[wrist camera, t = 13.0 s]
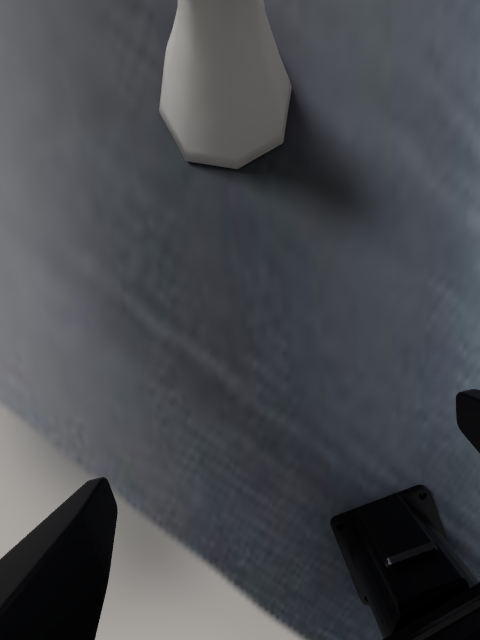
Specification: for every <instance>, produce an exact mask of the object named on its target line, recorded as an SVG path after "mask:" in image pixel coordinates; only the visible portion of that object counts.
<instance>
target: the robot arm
mask: <svg viewBox="0 0 480 640" xmlns="http://www.w3.org/2000/svg"><path fill="white" fill-rule="evenodd" d="M456 416H457V424H458V427H459V428H460V430H461V432H462V433H463V434H464V435H465V436H466V438H467V439H468V440H469V441H470V442H471V444H472V445H473V446H474V447H475V448H476V450H477V451H478V452H479V453H480V390H477V389H471V390H467V391H463V392H459V393H458V394H457V396H456ZM420 493H423V494H422V495H421V496H419V494H420ZM116 520H117V504H116V501H115V498H114V495H113V493H112V490H111V487H110V484H109V482H108V480H107V479H106V478H104V477H101V478H97V479H93V480H89V481H87V482H86V483H85V484H84V485H83V486H82V487H80V488H79V489H78V490H77V491H76V492H75V493H74V494H73V495H72V496H70V497H69V498H68V499H67V500H66V501H65V502H64V503H63V504H61V505H60V506H59V507H58V508H57V509H56V510H55V511H54V512H53V513H51V514H50V515H49V516H48V517H47V518H46V519H45V520H44V521H43V522H41V523H40V524H39V525H38V526H37V527H36V528H35V529H34V530H32V531H31V532H30V533H29V534H28V535H27V536H26V537H25V538H23V539H22V540H21V541H20V542H19V543H18V544H17V545H16V546H15V547H13V548H12V549H11V550H10V551H9V552H8V553H7V554H6V555H5V556H3V558H1V559H0V640H95V636H96V632H97V628H98V623H99V619H100V615H101V610H102V606H103V602H104V598H105V593H106V589H107V584H108V578H109V572H110V566H111V558H112V551H113V543H114V535H115V528H116ZM330 523H331V527H332V530H333V532H334V535H335V537H336V540H337V542H338V545H339V547H340V550H341V552H342V555H343V557H344V560H345V562H346V565H347V567H348V570H349V572H350V574H351V577H352V579H353V582H354V584H355V587H356V589H357V592H358V594H359V597H360V599H361V601H362V603H363V604H366V605H370V607H371V609H372V612H373V614H374V616H375V619H376V621H377V624H378V626H379V629H380V631H381V634H382V636H383V638H384V639H382V640H480V582H479V581H478V580H477V579H476V578H475V576H474V575H473V574H472V573H471V571H470V570H469V569H468V568H467V566H466V565H465V564H464V562H463V561H462V560H461V559H460V557H459V556H458V555H457V554H456V552H455V551H454V550H453V549H452V547H451V546H450V545H449V544H448V542H447V539H446V536H445V533H444V530H443V528H442V525H441V522H440V519H439V516H438V513H437V511H436V508H435V505H434V502H433V499H432V496H431V493H430V492H429V490H428V489H427V488H426V487H425V486H423V485H417V486H414V487H411V488H409V489H406V490H403V491H401V492H398V493H395V494H393V495H390V496H387V497H385V498H382V499H379V500H377V501H374V502H371V503H369V504H366V505H363V506H361V507H358V508H355V509H353V510H350V511H347V512H345V513H342V514H339V515H337V516H335V517H333V518H332V519H331V522H330ZM340 523H341V525H340V526H337V524H340Z"/></svg>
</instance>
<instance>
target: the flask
mask: <svg viewBox="0 0 480 640" xmlns="http://www.w3.org/2000/svg"><path fill="white" fill-rule="evenodd" d="M291 89H292V86H291V83H290V80H289V77H288V75H287V72H286V70H285V67H284V65H283V63H282V60H281V58H280V55H279V53H278V50H277V47H276V44H275V40H274V37H273V34H272V31H271V28H270V25H269V22H268V19H267V16H266V13H265V7H264V0H178V9H177V13H176V17H175V22H174V26H173V29H172V32H171V35H170V38H169V41H168V45H167V48H166V53H165V61H164V70H163V79H162V89H161V98H160V108H159V113H160V114H161V116H162V118H163V120H164V122H165V124H166V126H167V127H168V129H169V131H170V133H171V135H172V137H173V139H174V140H175V142H176V144H177V146H178V148H179V150H180V152H181V153H182V155H183V157H184V159H185V161H188V162H195V163H201V164H207V165H214V166H220V167H226V168H233V169H239V168H240V167H242V166H244V165H246V164H247V163H249V162H251V161H253V160H254V159H256V158H258V157H260V156H261V155H263V154H265V153H267V152H269V151H270V150H272V149H274V148H276V147H277V146H279V145H281V144H283V141H284V135H285V128H286V122H287V115H288V109H289V102H290V96H291Z"/></svg>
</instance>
